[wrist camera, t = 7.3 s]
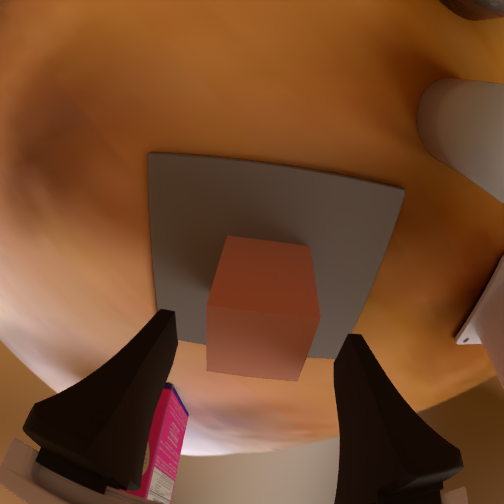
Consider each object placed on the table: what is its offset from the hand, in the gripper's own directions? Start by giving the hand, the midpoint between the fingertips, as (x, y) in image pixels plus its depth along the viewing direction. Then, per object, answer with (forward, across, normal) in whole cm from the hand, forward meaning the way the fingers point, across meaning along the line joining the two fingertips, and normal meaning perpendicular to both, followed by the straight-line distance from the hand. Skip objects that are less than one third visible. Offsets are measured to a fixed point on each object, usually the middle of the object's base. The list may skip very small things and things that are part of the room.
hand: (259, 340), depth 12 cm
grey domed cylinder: (+5, -8, -10) cm, 14 cm away
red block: (+4, 0, 0) cm, 4 cm away
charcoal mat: (+5, 0, 0) cm, 5 cm away
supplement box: (+5, +8, +16) cm, 19 cm away
